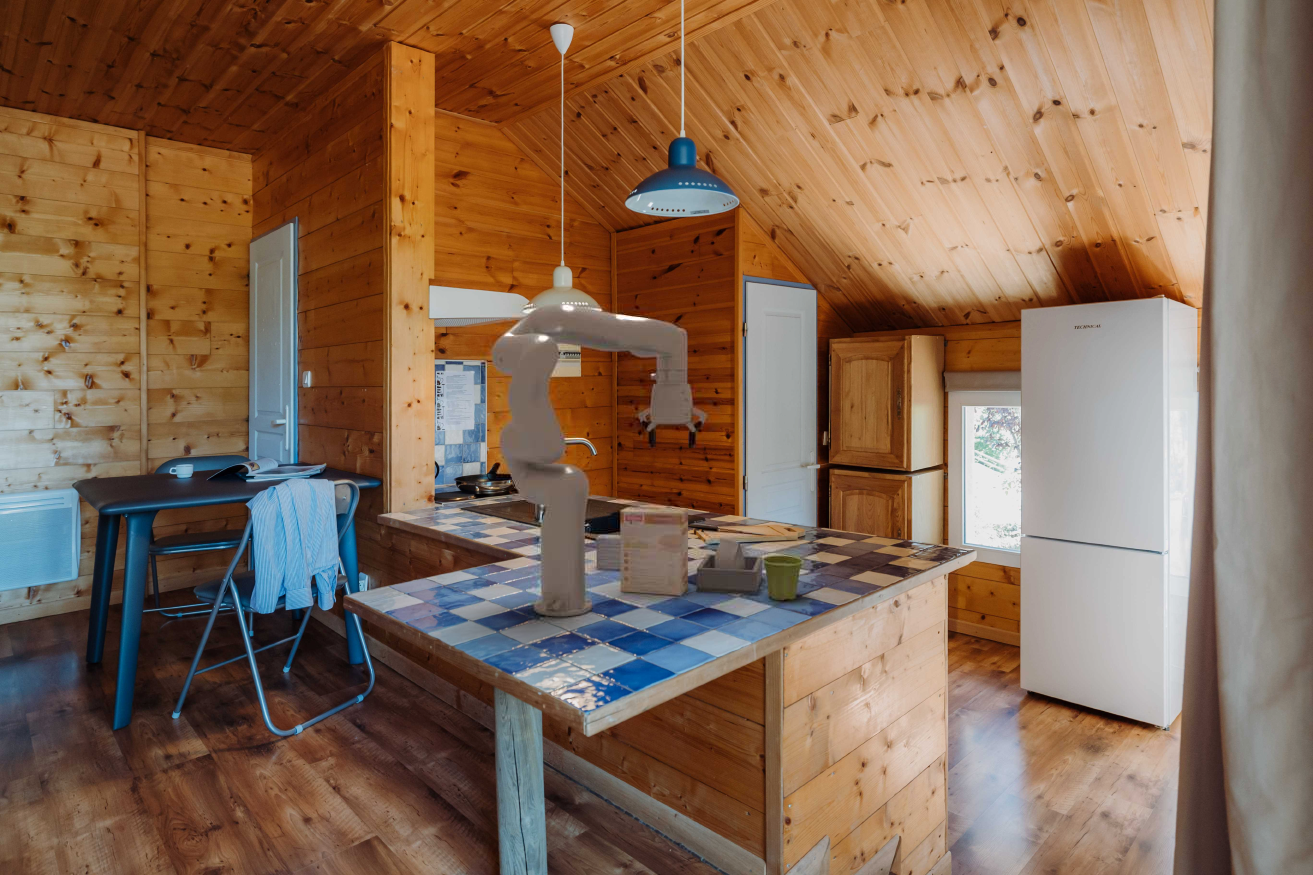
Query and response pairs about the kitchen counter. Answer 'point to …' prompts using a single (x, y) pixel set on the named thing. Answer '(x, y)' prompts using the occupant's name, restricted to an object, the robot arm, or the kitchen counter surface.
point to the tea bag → (729, 555)
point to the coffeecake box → (654, 550)
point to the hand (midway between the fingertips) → (672, 447)
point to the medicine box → (608, 552)
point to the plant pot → (782, 576)
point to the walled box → (729, 577)
